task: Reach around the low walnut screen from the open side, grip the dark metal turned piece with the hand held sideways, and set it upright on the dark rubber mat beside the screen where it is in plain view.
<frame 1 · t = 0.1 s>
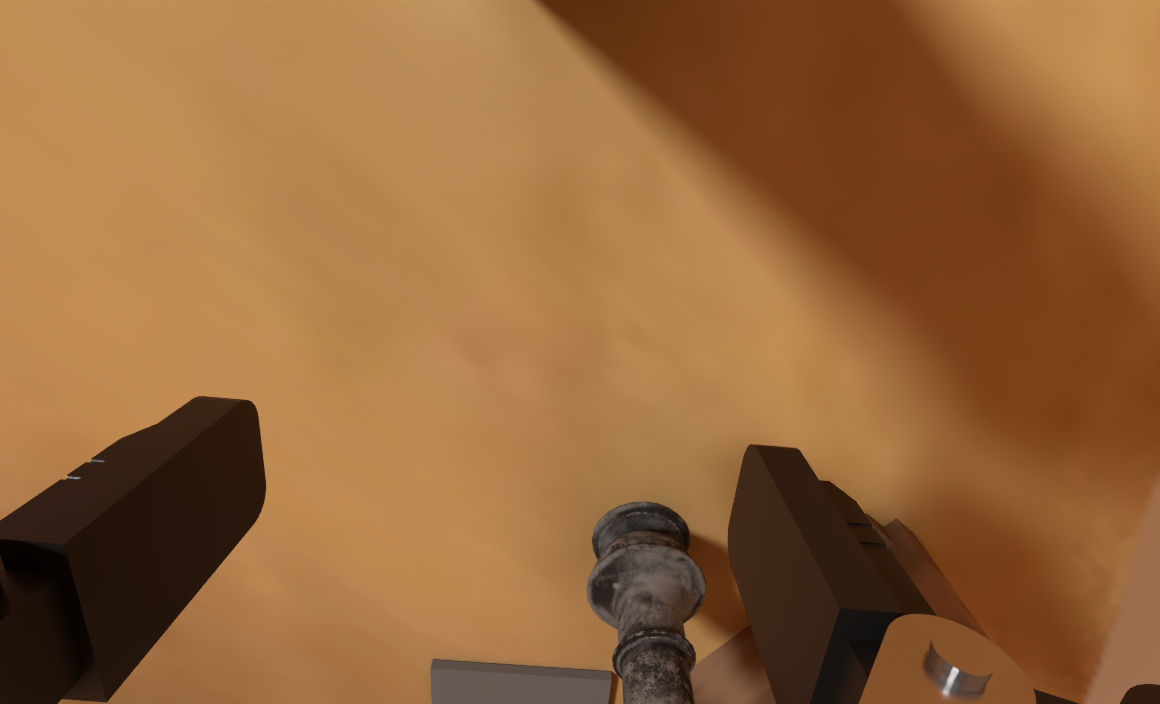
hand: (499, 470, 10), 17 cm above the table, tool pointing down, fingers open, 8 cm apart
dark metal turned piece: (640, 537, 33), on the table
walnut screen: (765, 627, 35), on the table
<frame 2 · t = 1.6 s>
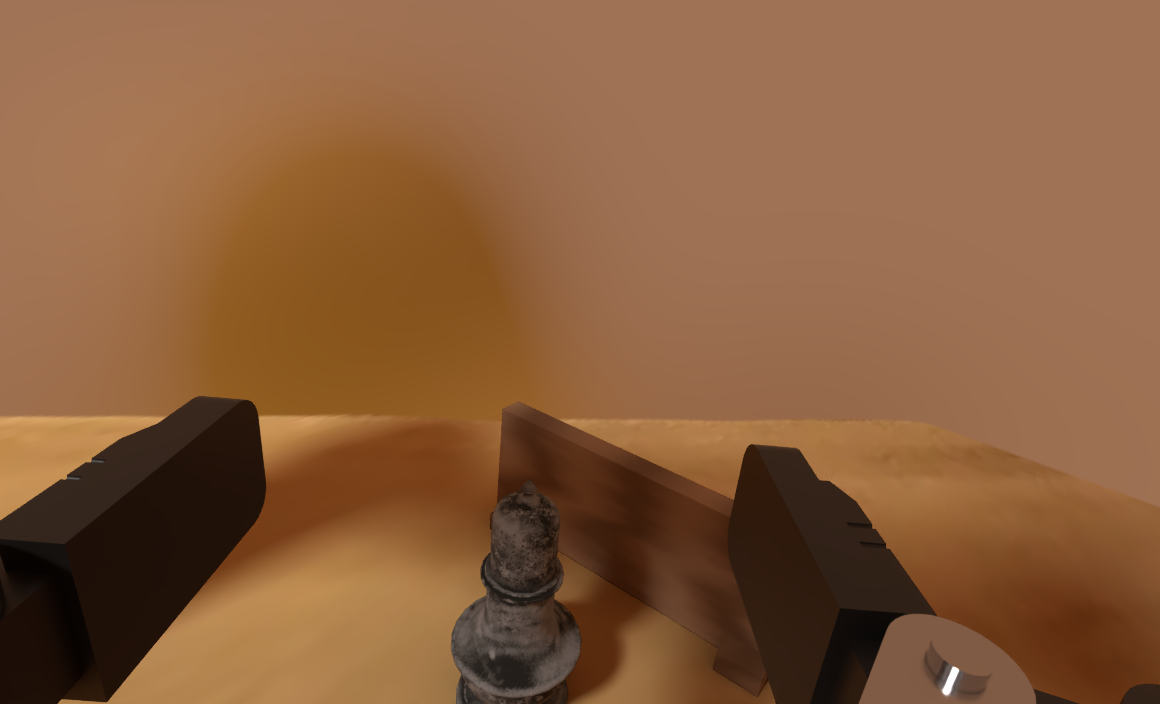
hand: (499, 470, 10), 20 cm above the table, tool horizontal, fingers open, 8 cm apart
dark metal turned piece: (512, 695, 29), on the table
walnut screen: (625, 580, 36), on the table
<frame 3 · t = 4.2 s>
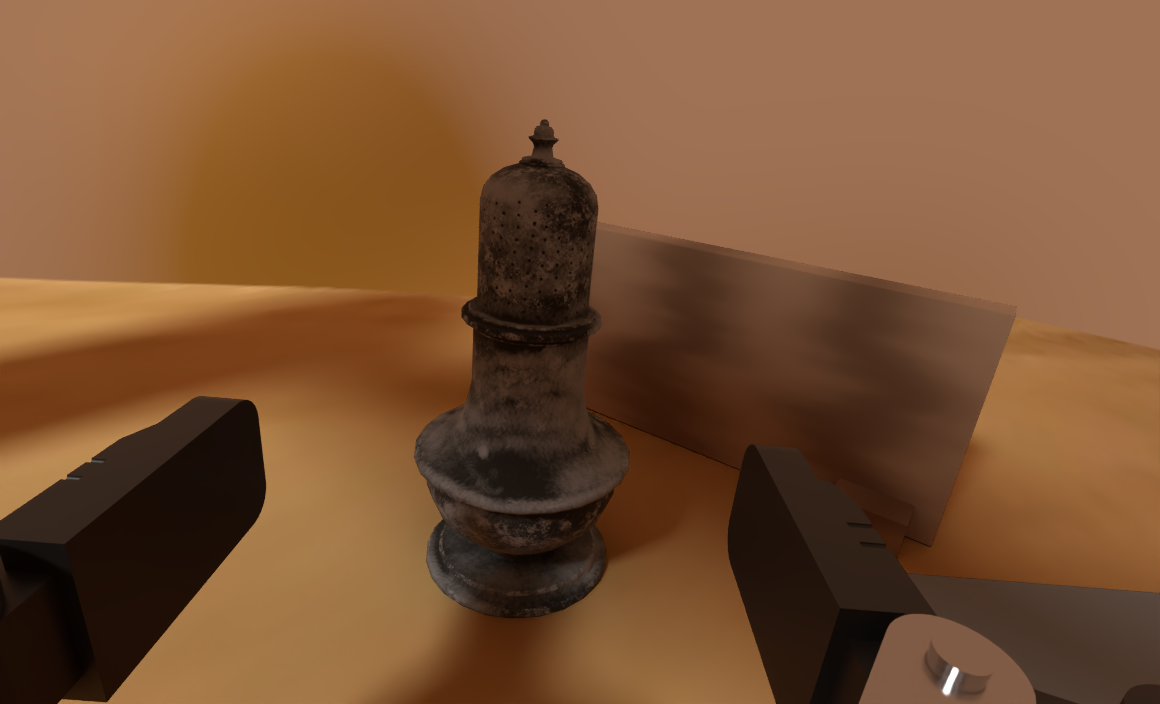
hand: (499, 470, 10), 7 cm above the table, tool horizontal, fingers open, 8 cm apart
dark metal turned piece: (517, 554, 18), on the table
walnut screen: (672, 432, 26), on the table
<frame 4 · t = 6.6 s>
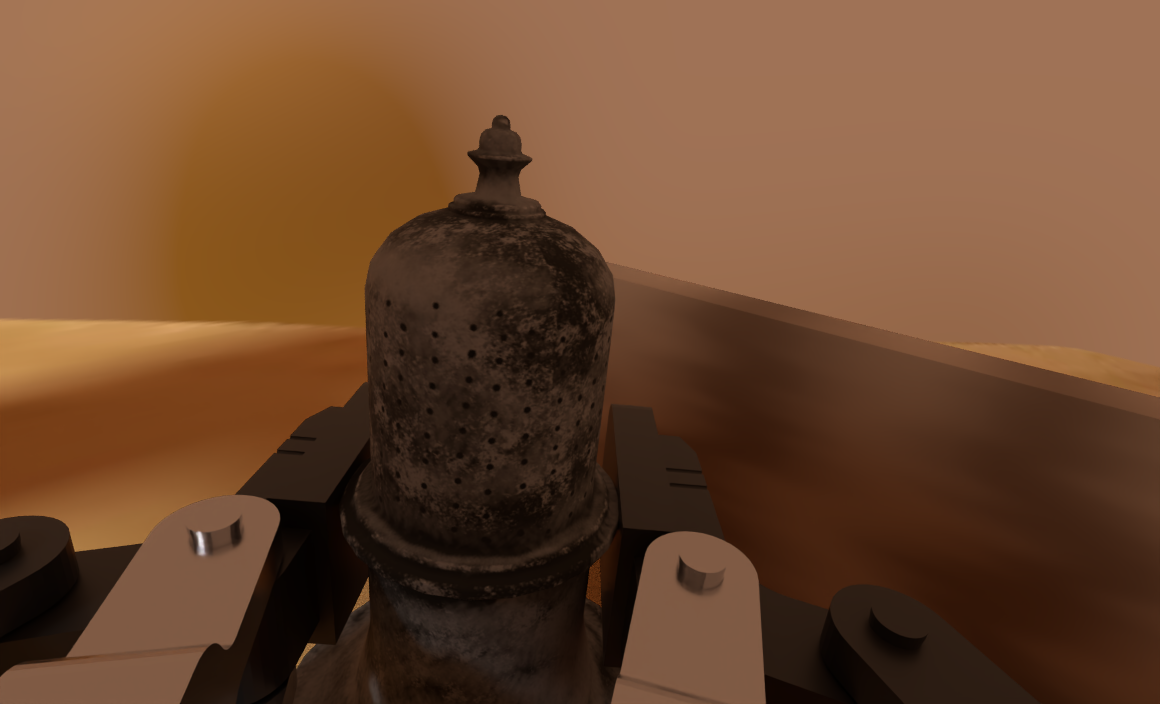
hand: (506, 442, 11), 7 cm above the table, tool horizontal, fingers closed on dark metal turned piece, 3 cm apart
walnut screen: (709, 559, 18), on the table
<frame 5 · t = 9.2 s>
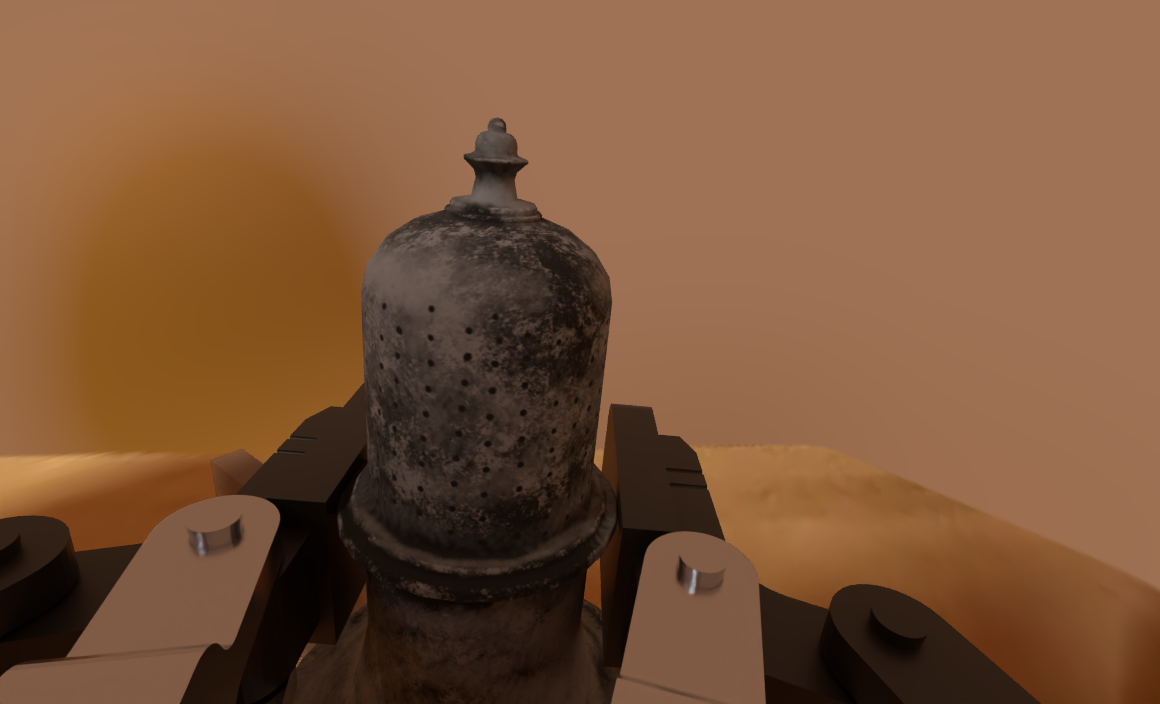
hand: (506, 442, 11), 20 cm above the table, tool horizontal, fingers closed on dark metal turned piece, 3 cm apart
walnut screen: (357, 685, 28), on the table
when the fingers open (8 cm above the table, at t = 12.0 s): dark metal turned piece drops 1 cm, resting on dark mat.
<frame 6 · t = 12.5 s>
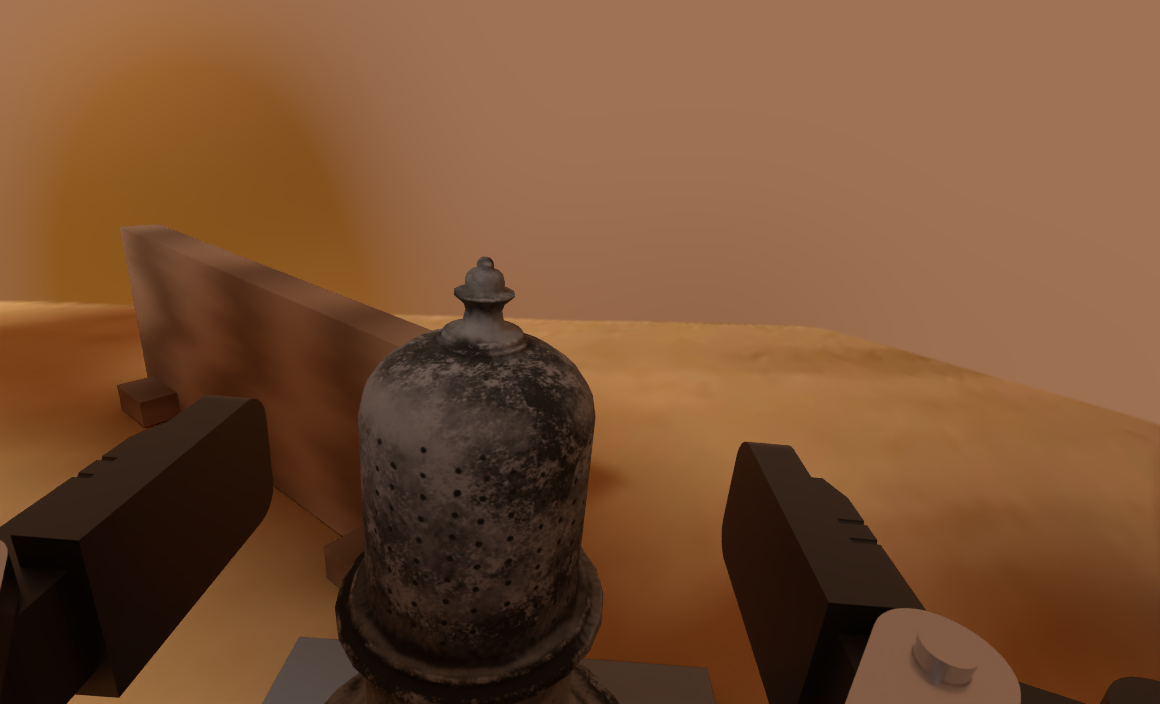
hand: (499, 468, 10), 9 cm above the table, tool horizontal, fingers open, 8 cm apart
walnut screen: (278, 467, 24), on the table
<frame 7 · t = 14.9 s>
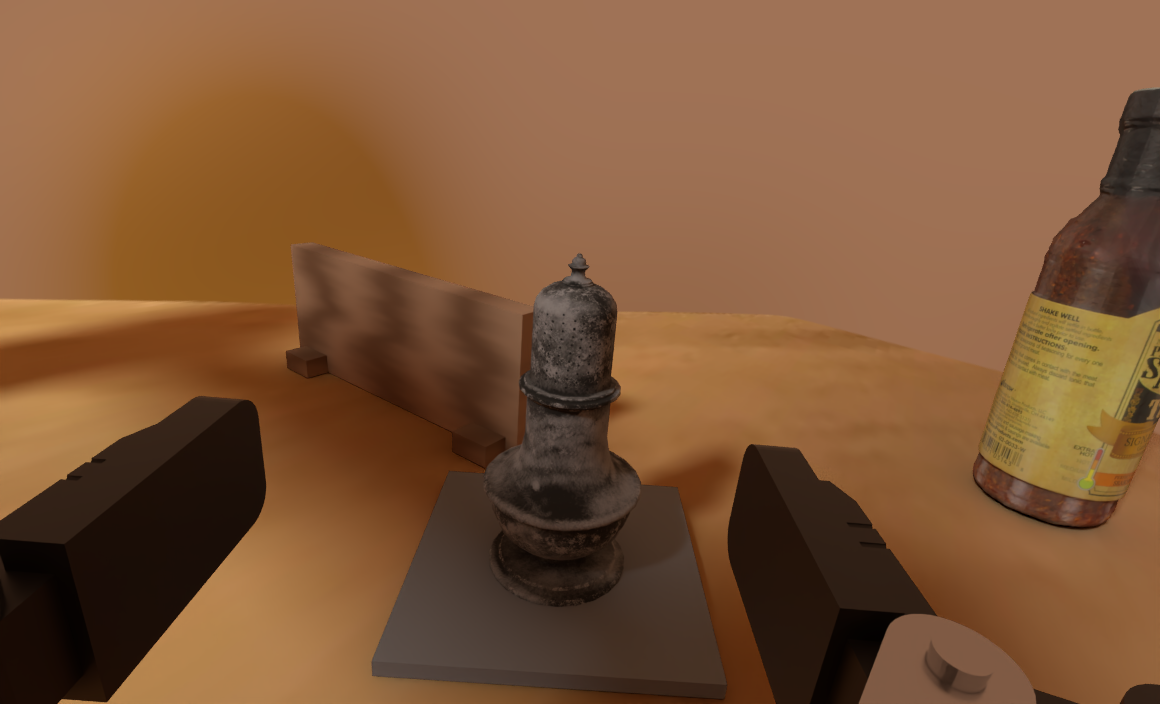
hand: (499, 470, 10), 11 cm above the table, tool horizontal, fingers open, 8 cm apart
sauce bottle: (1034, 500, 32), on the table
dark mat: (557, 567, 24), on the table
dark metal turned piece: (556, 560, 24), resting on dark mat
walnut screen: (403, 399, 37), on the table
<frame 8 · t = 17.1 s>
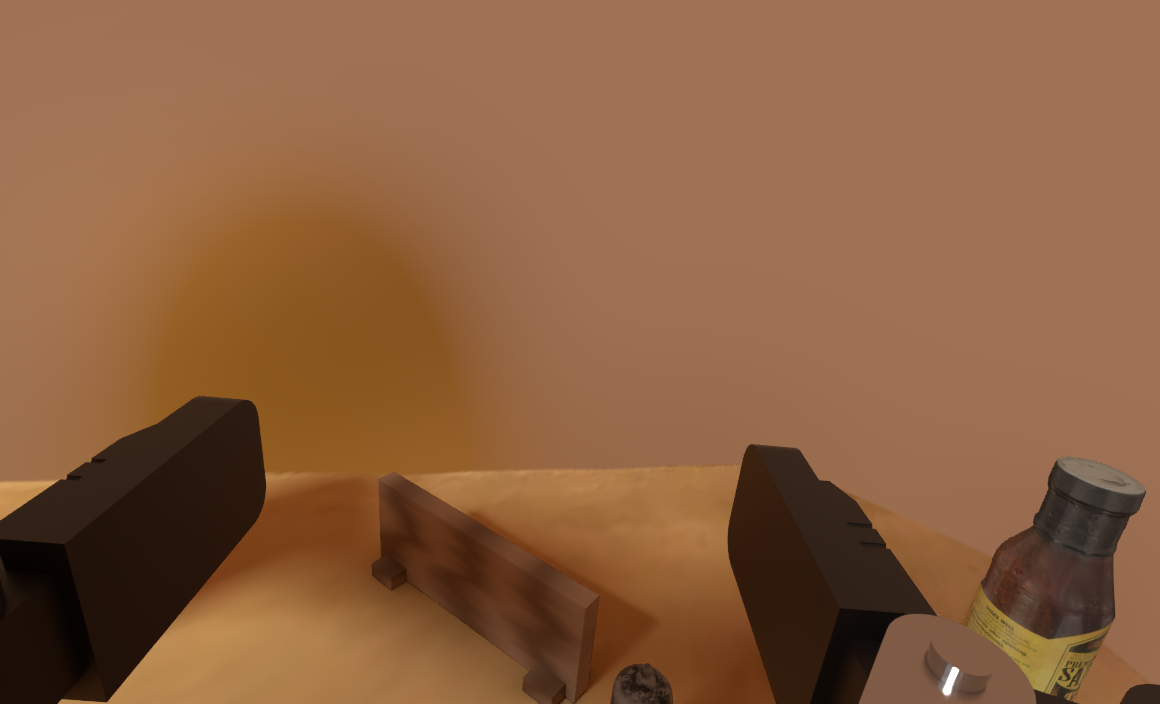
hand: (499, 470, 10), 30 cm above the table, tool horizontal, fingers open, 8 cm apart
walnut screen: (473, 618, 45), on the table
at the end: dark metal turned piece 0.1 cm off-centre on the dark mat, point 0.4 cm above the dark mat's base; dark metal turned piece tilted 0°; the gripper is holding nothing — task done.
